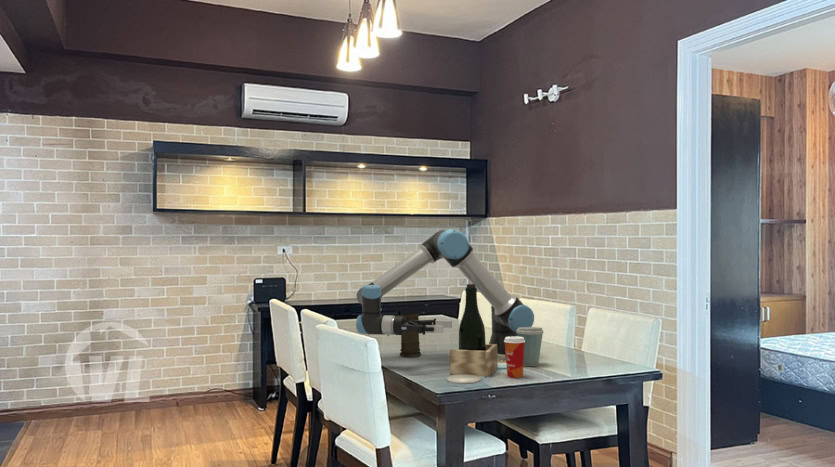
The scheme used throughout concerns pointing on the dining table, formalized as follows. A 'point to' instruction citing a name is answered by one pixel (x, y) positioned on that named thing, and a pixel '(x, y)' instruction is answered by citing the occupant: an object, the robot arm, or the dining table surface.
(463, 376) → the coaster
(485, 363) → the wooden box
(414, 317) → the container
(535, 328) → the disposable coffee cup
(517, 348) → the paper cup
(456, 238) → the robot arm
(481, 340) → the dark green wine bottle
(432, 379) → the dining table surface
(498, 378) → the dining table surface
